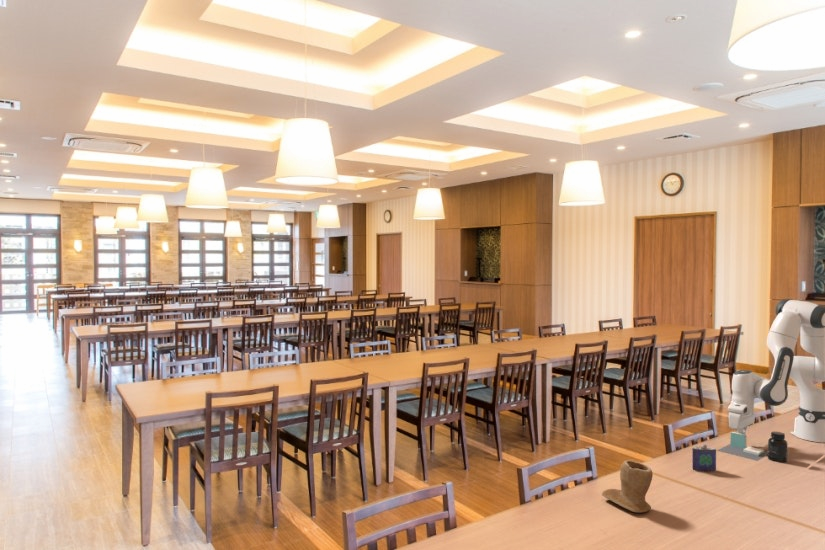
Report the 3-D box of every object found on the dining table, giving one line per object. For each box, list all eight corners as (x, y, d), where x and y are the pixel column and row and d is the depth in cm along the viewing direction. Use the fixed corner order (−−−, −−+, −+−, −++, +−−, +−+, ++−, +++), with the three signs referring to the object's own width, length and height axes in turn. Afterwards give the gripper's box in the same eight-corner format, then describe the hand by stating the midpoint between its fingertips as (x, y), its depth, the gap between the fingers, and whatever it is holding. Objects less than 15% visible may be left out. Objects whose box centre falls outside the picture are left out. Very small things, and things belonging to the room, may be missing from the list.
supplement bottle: (791, 464, 228) (791, 435, 228) (774, 463, 228) (775, 435, 228) (780, 458, 235) (780, 430, 235) (764, 458, 235) (764, 430, 235)
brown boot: (660, 511, 184) (660, 467, 184) (633, 517, 179) (634, 472, 179) (626, 494, 198) (626, 452, 198) (600, 499, 193) (601, 457, 193)
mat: (731, 444, 253) (731, 443, 253) (770, 453, 240) (770, 452, 240) (716, 451, 243) (716, 450, 243) (757, 462, 230) (757, 460, 230)
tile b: (731, 444, 251) (732, 431, 251) (746, 448, 246) (746, 434, 246) (730, 445, 250) (730, 432, 250) (745, 448, 245) (745, 435, 245)
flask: (714, 469, 222) (714, 443, 222) (718, 471, 219) (718, 445, 219) (691, 468, 223) (691, 442, 222) (694, 471, 220) (694, 445, 220)
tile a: (748, 446, 244) (743, 449, 240) (763, 450, 239) (758, 452, 235) (748, 449, 244) (743, 452, 240) (763, 453, 239) (758, 456, 235)
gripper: (743, 401, 259) (743, 430, 259) (726, 407, 246) (725, 438, 247) (758, 403, 254) (758, 433, 255) (741, 410, 242) (740, 441, 242)
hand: (742, 435), depth 250 cm, fingers closed
